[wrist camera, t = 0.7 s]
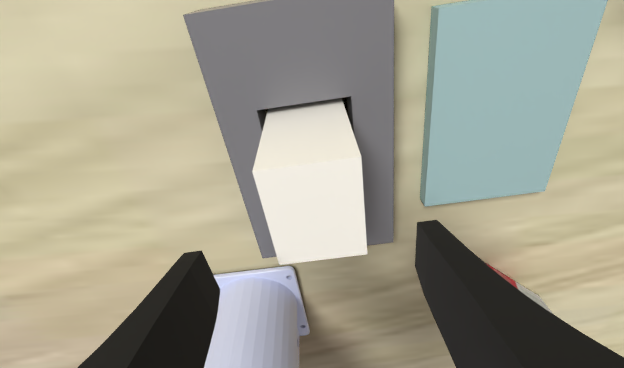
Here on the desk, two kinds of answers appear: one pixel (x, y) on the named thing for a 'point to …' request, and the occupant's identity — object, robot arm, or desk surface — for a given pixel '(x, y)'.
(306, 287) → the desk surface
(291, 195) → the plug
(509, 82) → the mat
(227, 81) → the grey board with hole
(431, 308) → the robot arm
